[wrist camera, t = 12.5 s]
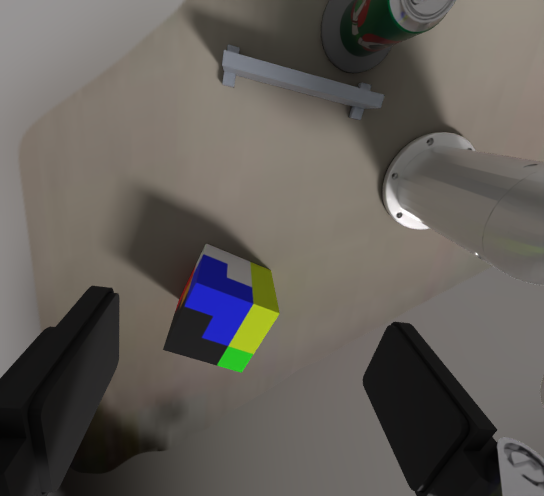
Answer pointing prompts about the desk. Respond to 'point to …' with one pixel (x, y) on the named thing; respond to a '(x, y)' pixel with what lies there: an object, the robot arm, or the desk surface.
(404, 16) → the soda can
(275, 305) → the puzzle toy
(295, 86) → the divider
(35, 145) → the desk surface
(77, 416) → the robot arm
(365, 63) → the coaster
